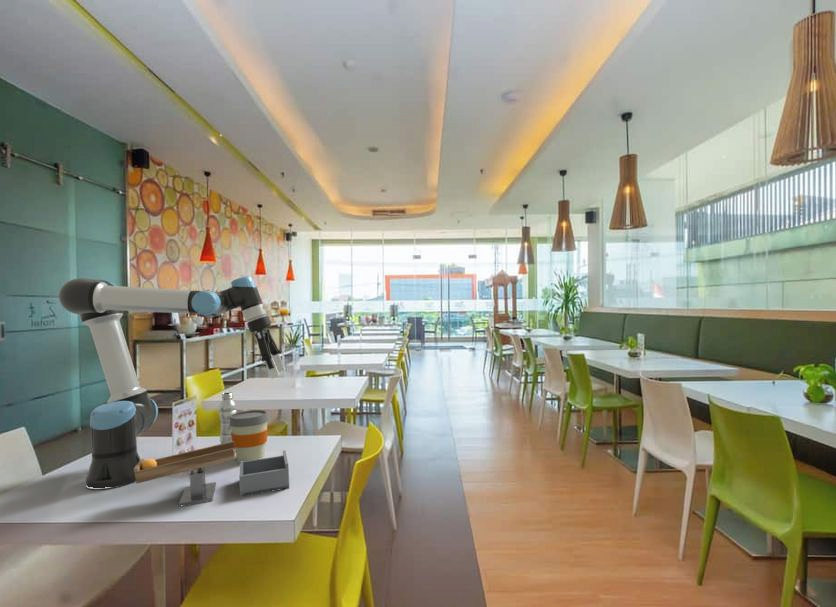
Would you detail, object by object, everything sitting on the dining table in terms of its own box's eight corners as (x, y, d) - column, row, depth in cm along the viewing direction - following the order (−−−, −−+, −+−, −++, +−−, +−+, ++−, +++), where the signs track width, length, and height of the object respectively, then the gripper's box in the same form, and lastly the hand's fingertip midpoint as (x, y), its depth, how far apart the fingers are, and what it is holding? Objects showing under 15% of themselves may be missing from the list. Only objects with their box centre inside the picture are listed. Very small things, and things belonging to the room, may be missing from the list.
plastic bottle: (240, 446, 170) (238, 393, 171) (221, 450, 167) (219, 395, 167) (237, 442, 176) (235, 390, 176) (218, 445, 172) (216, 393, 172)
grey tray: (241, 480, 136) (240, 456, 136) (286, 472, 141) (285, 450, 141) (240, 496, 124) (239, 471, 124) (289, 488, 129) (288, 463, 129)
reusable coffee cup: (277, 452, 161) (275, 410, 161) (254, 464, 149) (252, 419, 149) (247, 450, 165) (245, 409, 165) (223, 462, 153) (221, 418, 153)
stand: (185, 489, 131) (184, 465, 131) (215, 484, 134) (214, 460, 134) (179, 506, 120) (178, 479, 120) (212, 500, 122) (211, 474, 122)
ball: (140, 474, 122) (137, 461, 122) (154, 468, 125) (151, 455, 125) (146, 475, 120) (143, 462, 120) (160, 469, 123) (157, 456, 123)
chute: (150, 468, 133) (147, 450, 133) (237, 447, 141) (234, 430, 141) (136, 489, 117) (133, 469, 117) (235, 464, 126) (232, 445, 125)
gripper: (260, 316, 149) (283, 375, 150) (273, 314, 174) (293, 365, 175) (238, 324, 148) (261, 384, 149) (254, 321, 173) (274, 372, 174)
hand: (278, 374), depth 162 cm, fingers open, 13 cm apart
